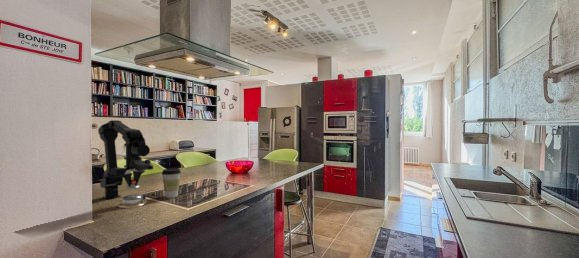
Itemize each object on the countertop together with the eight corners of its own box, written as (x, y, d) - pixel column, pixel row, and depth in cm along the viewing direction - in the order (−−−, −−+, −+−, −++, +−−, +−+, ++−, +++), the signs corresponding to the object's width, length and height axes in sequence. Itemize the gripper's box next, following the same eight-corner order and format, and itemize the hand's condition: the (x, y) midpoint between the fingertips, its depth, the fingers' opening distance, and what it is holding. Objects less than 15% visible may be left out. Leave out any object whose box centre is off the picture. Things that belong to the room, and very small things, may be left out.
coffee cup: (175, 198, 133) (175, 171, 133) (157, 198, 133) (157, 171, 133) (184, 193, 143) (184, 168, 143) (167, 193, 143) (167, 167, 143)
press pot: (112, 206, 121) (112, 198, 121) (137, 199, 132) (137, 192, 132) (129, 209, 116) (128, 201, 116) (152, 202, 128) (152, 194, 128)
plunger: (122, 188, 122) (122, 179, 122) (134, 185, 128) (134, 177, 128) (130, 189, 120) (130, 181, 120) (142, 186, 125) (142, 178, 125)
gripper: (124, 158, 112) (124, 192, 112) (160, 153, 129) (160, 183, 129) (108, 156, 116) (109, 189, 116) (145, 152, 133) (145, 181, 134)
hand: (132, 186), depth 124 cm, fingers closed on plunger, 3 cm apart
